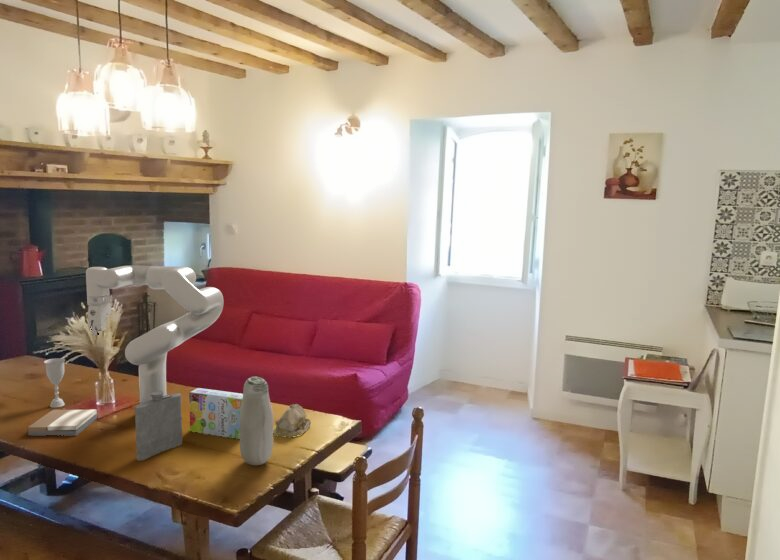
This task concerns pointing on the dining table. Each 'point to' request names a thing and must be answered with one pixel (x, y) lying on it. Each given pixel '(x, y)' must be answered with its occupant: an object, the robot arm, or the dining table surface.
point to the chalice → (55, 377)
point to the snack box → (215, 412)
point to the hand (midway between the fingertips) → (100, 347)
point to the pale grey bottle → (256, 422)
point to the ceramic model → (292, 422)
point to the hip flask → (158, 424)
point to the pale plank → (72, 420)
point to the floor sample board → (65, 432)
